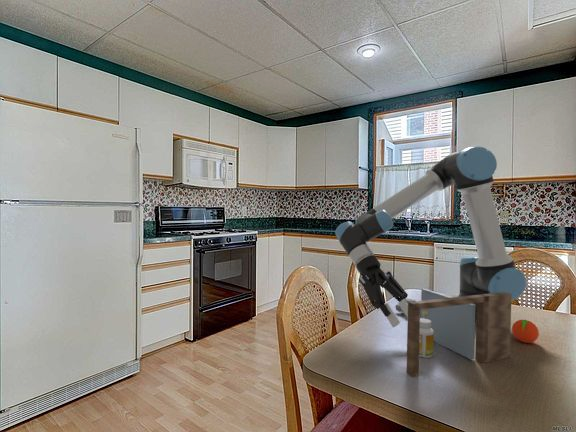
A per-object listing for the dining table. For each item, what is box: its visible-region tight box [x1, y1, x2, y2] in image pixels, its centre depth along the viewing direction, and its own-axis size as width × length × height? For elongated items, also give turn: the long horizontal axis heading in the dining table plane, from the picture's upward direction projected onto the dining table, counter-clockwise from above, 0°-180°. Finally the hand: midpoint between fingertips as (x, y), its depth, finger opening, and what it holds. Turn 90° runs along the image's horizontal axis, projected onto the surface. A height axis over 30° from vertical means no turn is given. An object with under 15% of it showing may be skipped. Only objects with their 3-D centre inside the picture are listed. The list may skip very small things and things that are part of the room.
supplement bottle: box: [419, 318, 435, 359], centre depth 93 cm, size 5×5×10 cm
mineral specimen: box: [394, 298, 421, 318], centre depth 125 cm, size 16×7×7 cm, turn 25°
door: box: [420, 288, 476, 360], centre depth 98 cm, size 19×3×15 cm, turn 20°
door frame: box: [405, 292, 512, 378], centre depth 87 cm, size 34×2×18 cm, turn 110°
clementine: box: [511, 319, 540, 344], centre depth 102 cm, size 8×7×7 cm
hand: (405, 322), depth 97 cm, fingers open, 8 cm apart
